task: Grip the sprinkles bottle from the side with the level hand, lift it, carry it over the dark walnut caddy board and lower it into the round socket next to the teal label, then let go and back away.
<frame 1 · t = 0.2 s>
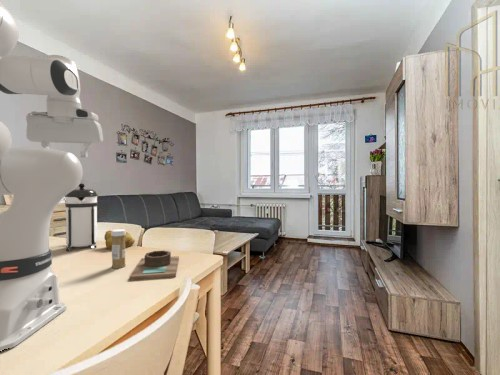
hand: (67, 157, 80), 39 cm above the table, tool pointing down, fingers open, 8 cm apart
socket board: (157, 268, 89), on the table
bread roll: (120, 247, 118), on the table
coffee press: (81, 247, 118), on the table
sprinkles bottle: (118, 267, 91), on the table
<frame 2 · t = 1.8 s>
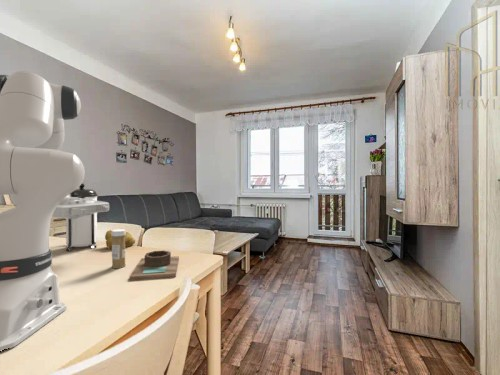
hand: (95, 210, 95), 20 cm above the table, tool horizontal, fingers open, 8 cm apart
nothing on the table moved.
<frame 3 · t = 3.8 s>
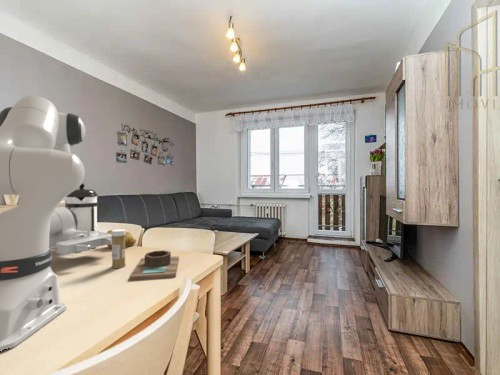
hand: (100, 245, 94), 7 cm above the table, tool horizontal, fingers open, 8 cm apart
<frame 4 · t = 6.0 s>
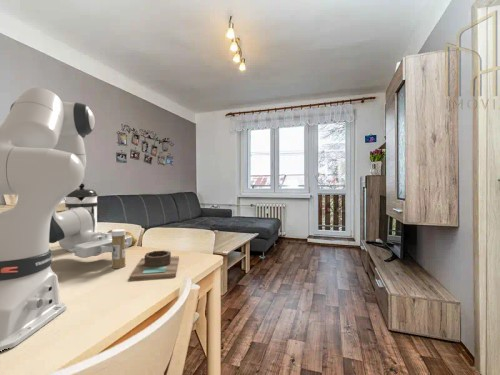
hand: (120, 247, 91), 7 cm above the table, tool horizontal, fingers closed on sprinkles bottle, 4 cm apart
sprinkles bottle: (118, 267, 91), on the table, touching gripper
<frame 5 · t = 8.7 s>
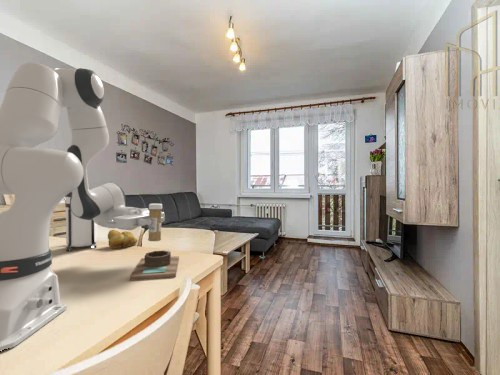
hand: (157, 220, 91), 17 cm above the table, tool horizontal, fingers closed on sprinkles bottle, 4 cm apart
sprinkles bottle: (154, 241, 91), point 10 cm above the table, touching gripper
when the fingers open (9 cm above the table, at t = 11.1 s): sprinkles bottle stays where it is, resting on socket board.
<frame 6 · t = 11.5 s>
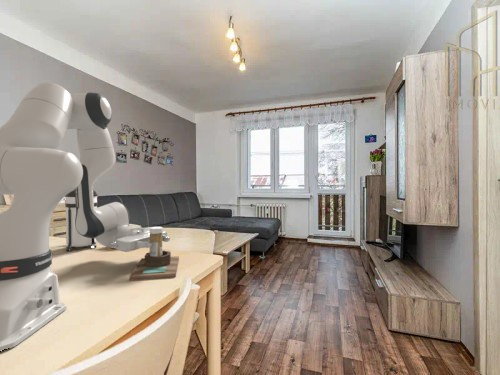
hand: (159, 242, 91), 9 cm above the table, tool horizontal, fingers open, 8 cm apart
sprinkles bottle: (155, 264, 90), point 1 cm above the table, touching socket board
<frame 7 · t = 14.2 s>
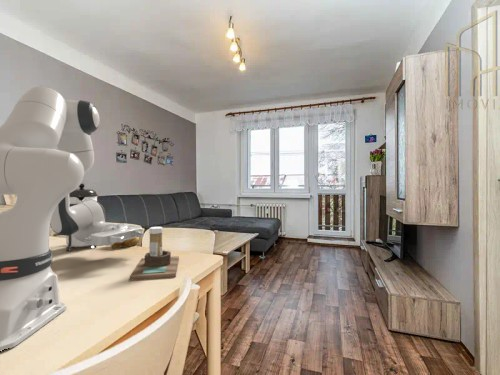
hand: (132, 237, 96), 10 cm above the table, tool horizontal, fingers open, 8 cm apart
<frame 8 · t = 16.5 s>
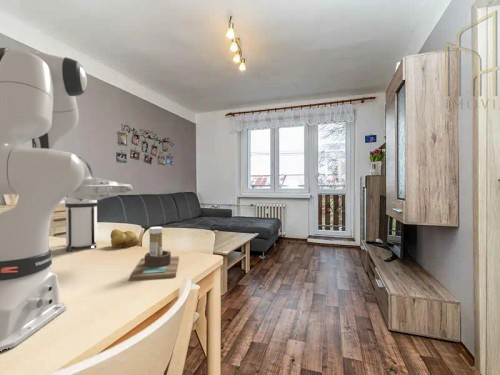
hand: (121, 189, 95), 28 cm above the table, tool horizontal, fingers open, 8 cm apart
at the end: sprinkles bottle 1.1 cm from the target spot on the socket board, point 1.0 cm above the socket board's base; sprinkles bottle tilted 0°; the gripper is holding nothing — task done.
